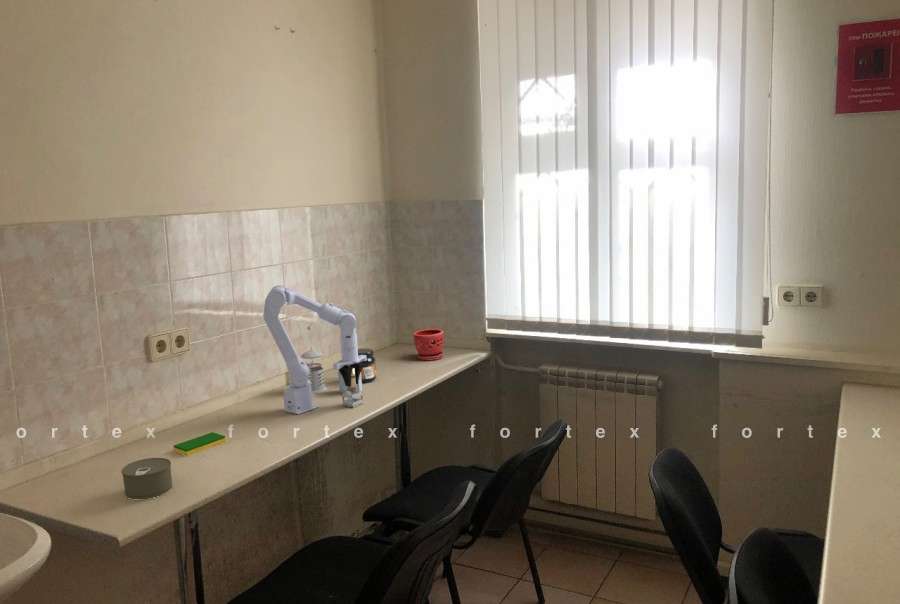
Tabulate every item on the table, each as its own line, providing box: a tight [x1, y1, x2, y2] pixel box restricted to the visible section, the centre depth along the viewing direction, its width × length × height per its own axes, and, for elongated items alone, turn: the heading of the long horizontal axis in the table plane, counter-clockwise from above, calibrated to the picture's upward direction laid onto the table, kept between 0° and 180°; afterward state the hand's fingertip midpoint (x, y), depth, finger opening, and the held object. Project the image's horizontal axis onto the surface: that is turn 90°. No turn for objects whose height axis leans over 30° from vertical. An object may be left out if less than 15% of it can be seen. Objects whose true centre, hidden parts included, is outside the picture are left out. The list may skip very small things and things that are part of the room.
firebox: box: [341, 390, 364, 408], centre depth 260 cm, size 5×5×4 cm
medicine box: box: [337, 370, 363, 394], centre depth 276 cm, size 8×4×9 cm, turn 84°
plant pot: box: [413, 328, 445, 361], centre depth 322 cm, size 13×13×12 cm
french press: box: [300, 325, 328, 394], centre depth 278 cm, size 10×12×25 cm
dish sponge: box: [173, 431, 227, 457], centre depth 224 cm, size 7×14×2 cm, turn 142°
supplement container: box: [358, 347, 377, 384], centre depth 291 cm, size 10×10×12 cm
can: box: [121, 457, 174, 500], centre depth 193 cm, size 12×12×7 cm
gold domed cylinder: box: [348, 366, 356, 392], centre depth 259 cm, size 3×3×8 cm
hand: (351, 384), depth 259 cm, fingers closed on gold domed cylinder, 3 cm apart
